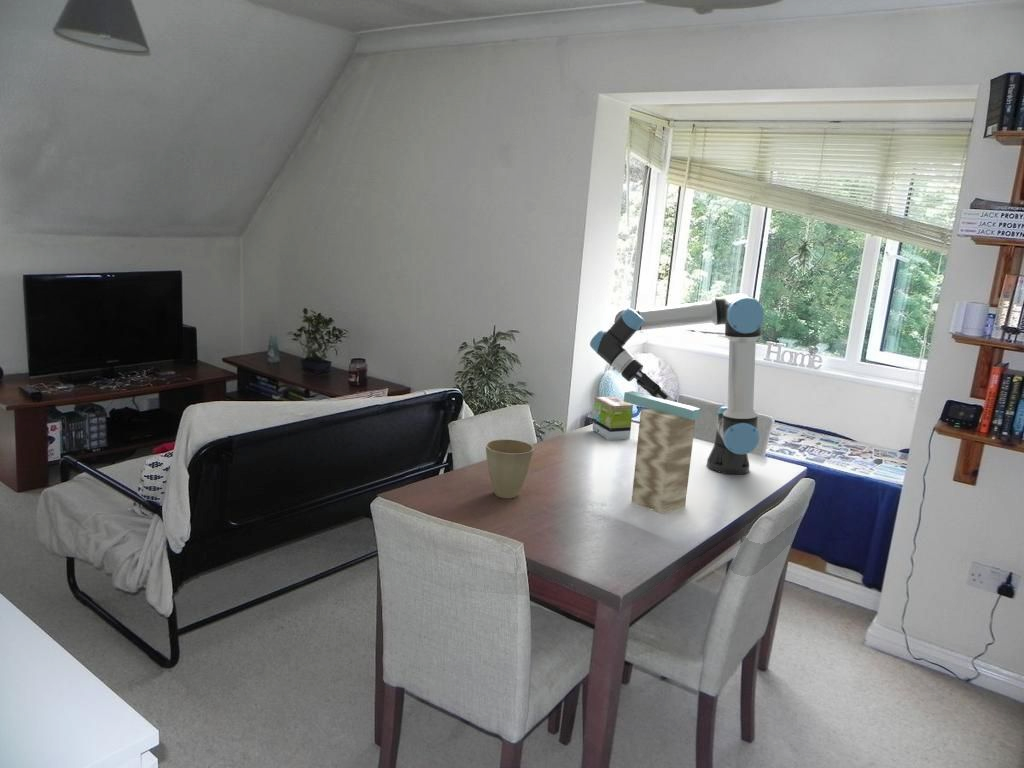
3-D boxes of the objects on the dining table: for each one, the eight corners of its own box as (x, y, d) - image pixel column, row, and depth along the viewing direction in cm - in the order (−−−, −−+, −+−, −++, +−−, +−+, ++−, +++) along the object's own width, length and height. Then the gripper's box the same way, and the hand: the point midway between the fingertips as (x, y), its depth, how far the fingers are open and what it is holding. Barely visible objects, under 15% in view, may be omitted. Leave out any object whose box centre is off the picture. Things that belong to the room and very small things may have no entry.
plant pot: (473, 492, 247) (475, 444, 243) (505, 483, 257) (508, 436, 254) (507, 506, 237) (510, 456, 233) (539, 496, 248) (543, 447, 244)
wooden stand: (631, 501, 248) (640, 409, 242) (654, 494, 256) (664, 405, 250) (662, 513, 239) (672, 418, 233) (685, 505, 247) (696, 413, 241)
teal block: (623, 401, 251) (624, 392, 251) (631, 400, 254) (632, 391, 253) (692, 420, 233) (693, 410, 232) (699, 418, 236) (700, 408, 235)
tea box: (591, 430, 329) (594, 396, 326) (612, 429, 333) (615, 395, 330) (609, 440, 316) (612, 405, 313) (630, 439, 320) (634, 404, 317)
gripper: (623, 380, 282) (667, 420, 276) (617, 367, 258) (665, 411, 252) (637, 365, 282) (681, 404, 276) (633, 351, 258) (681, 394, 252)
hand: (674, 408), depth 264 cm, fingers open, 13 cm apart
